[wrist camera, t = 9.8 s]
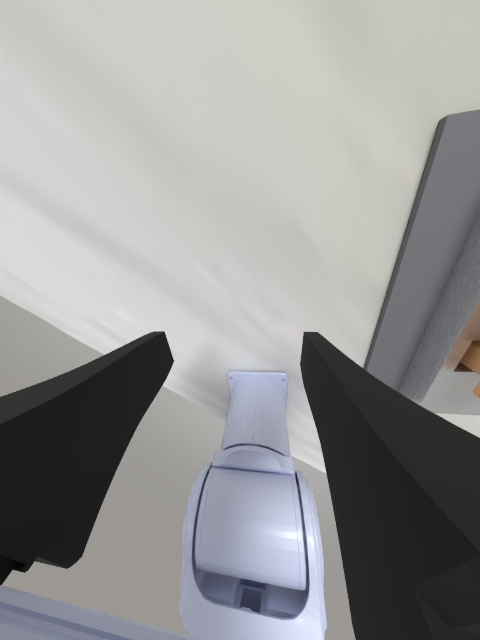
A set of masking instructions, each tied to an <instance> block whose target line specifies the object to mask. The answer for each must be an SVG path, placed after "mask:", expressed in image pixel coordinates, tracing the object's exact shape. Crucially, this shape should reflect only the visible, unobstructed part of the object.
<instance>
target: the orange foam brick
mask: <svg viewBox="0 0 480 640" xmlns="http://www.w3.org/2000/svg"><path fill="white" fill-rule="evenodd" d="M460 362H461V363H463V364H464V365H466V366H467V367H468V368H470V369H471V370H473V371H474V372H476V373H477V374H478V375H480V340H473V341H472V343H471V344H470V346H469V347H468V349H467V351H466V352H465V354H464V355H463V357H462V359H461V360H460ZM472 393H473V394H474V395H476V396H477V397H478V398H479V399H480V381H479V382H478V384H477V385H476V387H475V388H474V389H473V391H472Z"/></svg>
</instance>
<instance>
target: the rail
mask: <svg viewBox="0 0 480 640" xmlns="http://www.w3.org/2000/svg"><path fill="white" fill-rule="evenodd" d="M473 340H480V209H479V211H478V213H477V215H476V218H475V220H474V222H473V224H472V226H471V229H470V231H469V233H468V235H467V237H466V240H465V242H464V244H463V246H462V248H461V251H460V253H459V255H458V257H457V259H456V261H455V264H454V266H453V268H452V270H451V272H450V275H449V277H448V279H447V281H446V283H445V286H444V288H443V290H442V292H441V294H440V297H439V299H438V301H437V303H436V305H435V308H434V310H433V312H432V314H431V316H430V319H429V321H428V323H427V325H426V327H425V330H424V332H423V334H422V336H421V338H420V341H419V343H418V345H417V347H416V349H415V352H414V354H413V356H412V358H411V360H410V363H409V365H408V367H407V369H406V371H405V374H404V376H403V378H402V380H401V382H400V385H399V387H398V391H399V392H400V393H401V394H402V395H404V396H405V397H407V398H408V399H410V400H412V401H413V402H415V403H417V404H418V405H420V406H422V407H424V408H425V409H427V410H429V411H431V412H432V413H444V414H464V415H480V399H479V398H478V397H477V396H476V395H474V394H473V393H472V391H473V389H474V388H475V387H476V385H477V384H478V382H479V381H480V375H478V374H477V373H476V372H474V371H473V370H471V369H470V368H468V367H467V366H466V365H464V364H463V363H461V362H460V360H461V359H462V357H463V355H464V354H465V352H466V351H467V349H468V347H469V346H470V344H471V343H472V341H473Z"/></svg>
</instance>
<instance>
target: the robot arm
mask: <svg viewBox="0 0 480 640" xmlns="http://www.w3.org/2000/svg"><path fill="white" fill-rule="evenodd" d="M173 362H174V360H173V357H172V354H171V350H170V347H169V344H168V341H167V338H166V335H165V332H152V333H149V334H147V335H144V336H142V337H140V338H138V339H136V340H134V341H132V342H130V343H128V344H126V345H124V346H122V347H120V348H118V349H116V350H114V351H112V352H110V353H108V354H106V355H104V356H102V357H100V358H98V359H95V360H93V361H91V362H89V363H87V364H85V365H83V366H80V367H78V368H76V369H74V370H71V371H69V372H67V373H64V374H62V375H59V376H57V377H54V378H52V379H49V380H47V381H44V382H41V383H38V384H36V385H33V386H30V387H27V388H25V389H22V390H19V391H16V392H13V393H11V394H8V395H5V396H2V397H0V640H325V636H324V632H325V630H326V628H327V621H326V611H325V601H324V590H323V582H324V564H323V552H322V543H321V536H320V529H319V522H318V516H317V510H316V505H315V501H314V496H313V492H312V488H311V485H310V482H309V481H308V480H307V478H306V477H305V476H304V474H303V473H302V472H301V471H295V470H294V462H293V458H292V457H290V450H289V440H288V431H287V422H286V398H287V374H286V373H284V372H243V371H229V372H228V373H227V379H228V385H229V391H230V397H231V400H230V405H229V410H228V415H227V420H226V425H225V430H224V435H223V440H222V445H221V451H215V455H214V459H213V463H212V462H208V463H206V464H205V465H204V467H203V468H202V469H201V470H200V472H199V473H198V475H197V476H196V478H195V481H194V483H193V486H192V489H191V492H190V495H189V499H188V503H187V508H186V513H185V518H184V524H183V534H182V549H183V563H182V574H181V584H180V604H179V613H180V617H181V619H182V621H183V624H184V626H185V629H186V631H187V634H188V635H184V634H181V633H177V632H173V631H170V630H166V629H162V628H158V627H155V626H151V625H147V624H143V623H140V622H136V621H132V620H128V619H125V618H121V617H117V616H113V615H109V614H106V613H102V612H98V611H95V610H91V609H87V608H84V607H80V606H76V605H72V604H69V603H65V602H61V601H57V600H54V599H50V598H46V597H42V596H39V595H35V594H31V593H28V592H24V591H20V590H16V589H13V588H9V587H5V586H1V585H2V584H3V582H4V581H5V579H6V578H7V577H8V575H9V574H10V573H11V571H12V570H17V571H20V572H24V573H25V572H26V571H28V570H29V568H30V567H31V566H32V564H33V563H34V561H36V562H40V563H45V564H49V565H53V566H57V567H62V568H66V569H67V568H69V567H71V566H72V565H74V564H75V563H76V562H77V561H78V560H79V559H80V558H81V557H82V555H83V552H84V550H85V547H86V544H87V541H88V539H89V536H90V534H91V531H92V528H93V526H94V523H95V521H96V518H97V515H98V513H99V510H100V508H101V505H102V503H103V500H104V498H105V495H106V493H107V491H108V488H109V486H110V484H111V481H112V479H113V477H114V474H115V472H116V470H117V467H118V466H119V463H120V461H121V459H122V457H123V455H124V452H125V450H126V448H127V446H128V444H129V442H130V440H131V438H132V436H133V434H134V432H135V430H136V428H137V426H138V425H139V423H140V421H141V419H142V418H143V416H144V414H145V413H146V411H147V409H148V408H149V406H150V404H151V403H152V401H153V400H154V398H155V396H156V395H157V393H158V392H159V390H160V388H161V387H162V385H163V383H164V382H165V380H166V378H167V376H168V374H169V372H170V370H171V367H172V365H173ZM300 366H301V373H302V379H303V384H304V388H305V391H306V395H307V398H308V401H309V405H310V408H311V411H312V415H313V418H314V421H315V425H316V428H317V431H318V435H319V439H320V443H321V448H322V453H323V458H324V463H325V467H326V472H327V478H328V483H329V488H330V493H331V499H332V504H333V510H334V515H335V521H336V527H337V532H338V538H339V543H340V549H341V556H342V561H343V568H344V574H345V580H346V586H347V593H348V598H349V606H350V612H351V618H352V625H353V629H354V634H355V638H356V640H480V438H479V437H477V436H475V435H473V434H471V433H469V432H467V431H465V430H463V429H461V428H460V427H458V426H456V425H454V424H452V423H450V422H449V421H447V420H445V419H443V418H441V417H440V416H438V415H436V414H434V413H432V412H431V411H429V410H427V409H425V408H424V407H422V406H420V405H418V404H417V403H415V402H413V401H412V400H410V399H408V398H407V397H405V396H404V395H402V394H400V393H399V392H397V391H396V390H394V389H392V388H391V387H389V386H388V385H386V384H385V383H383V382H382V381H380V380H379V379H377V378H376V377H374V376H373V375H371V374H370V373H369V372H367V371H366V370H364V369H363V368H362V367H360V366H359V365H358V364H356V363H355V362H354V361H352V360H351V359H350V358H348V357H347V356H346V355H345V354H343V353H342V352H341V351H340V350H338V349H337V348H336V347H335V346H334V345H332V344H331V343H330V342H329V341H328V340H327V339H325V338H324V337H323V336H322V335H321V334H319V333H318V332H304V335H303V344H302V353H301V362H300ZM230 377H232V378H230Z"/></svg>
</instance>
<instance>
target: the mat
mask: <svg viewBox="0 0 480 640" xmlns="http://www.w3.org/2000/svg"><path fill="white" fill-rule="evenodd" d="M479 209H480V110H474V111H469V112H463V113H457V114H451V115H447V116H446V117H444V118H442V119H441V120H440V121H439V125H438V128H437V131H436V134H435V138H434V141H433V144H432V147H431V151H430V154H429V157H428V161H427V164H426V167H425V170H424V174H423V177H422V180H421V183H420V187H419V190H418V193H417V196H416V200H415V203H414V206H413V210H412V213H411V216H410V219H409V223H408V226H407V229H406V232H405V236H404V239H403V242H402V246H401V249H400V252H399V255H398V259H397V262H396V265H395V268H394V272H393V275H392V278H391V281H390V285H389V288H388V291H387V295H386V298H385V301H384V304H383V308H382V311H381V314H380V317H379V321H378V324H377V327H376V330H375V334H374V337H373V340H372V344H371V347H370V350H369V353H368V357H367V360H366V363H365V366H364V370H366V371H367V372H369V373H370V374H371V375H373V376H374V377H376V378H377V379H379V380H380V381H382V382H383V383H385V384H386V385H388V386H389V387H391V388H392V389H394V390H396V391H397V392H399V391H398V387H399V385H400V382H401V380H402V378H403V376H404V374H405V371H406V369H407V367H408V365H409V363H410V360H411V358H412V356H413V354H414V352H415V349H416V347H417V345H418V343H419V341H420V338H421V336H422V334H423V332H424V330H425V327H426V325H427V323H428V321H429V319H430V316H431V314H432V312H433V310H434V308H435V305H436V303H437V301H438V299H439V297H440V294H441V292H442V290H443V288H444V286H445V283H446V281H447V279H448V277H449V275H450V272H451V270H452V268H453V266H454V264H455V261H456V259H457V257H458V255H459V253H460V251H461V248H462V246H463V244H464V242H465V240H466V237H467V235H468V233H469V231H470V229H471V226H472V224H473V222H474V220H475V218H476V215H477V213H478V211H479ZM399 393H400V392H399ZM400 394H401V393H400Z"/></svg>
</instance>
